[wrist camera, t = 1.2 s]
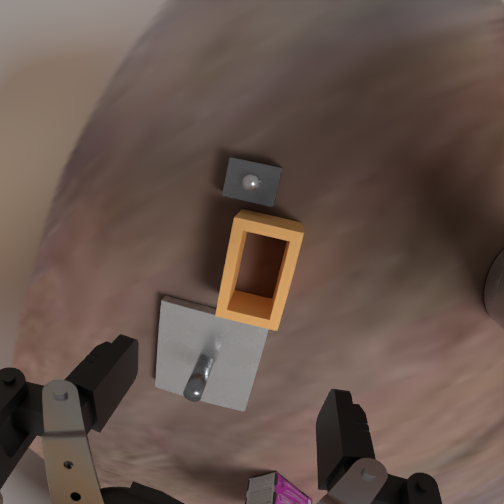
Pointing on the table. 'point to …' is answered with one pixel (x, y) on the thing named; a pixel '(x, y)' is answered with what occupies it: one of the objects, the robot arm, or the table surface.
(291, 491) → the candy bar box
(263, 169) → the grey knob block
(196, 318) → the plate
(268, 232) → the orange link
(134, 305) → the table surface
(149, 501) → the robot arm
